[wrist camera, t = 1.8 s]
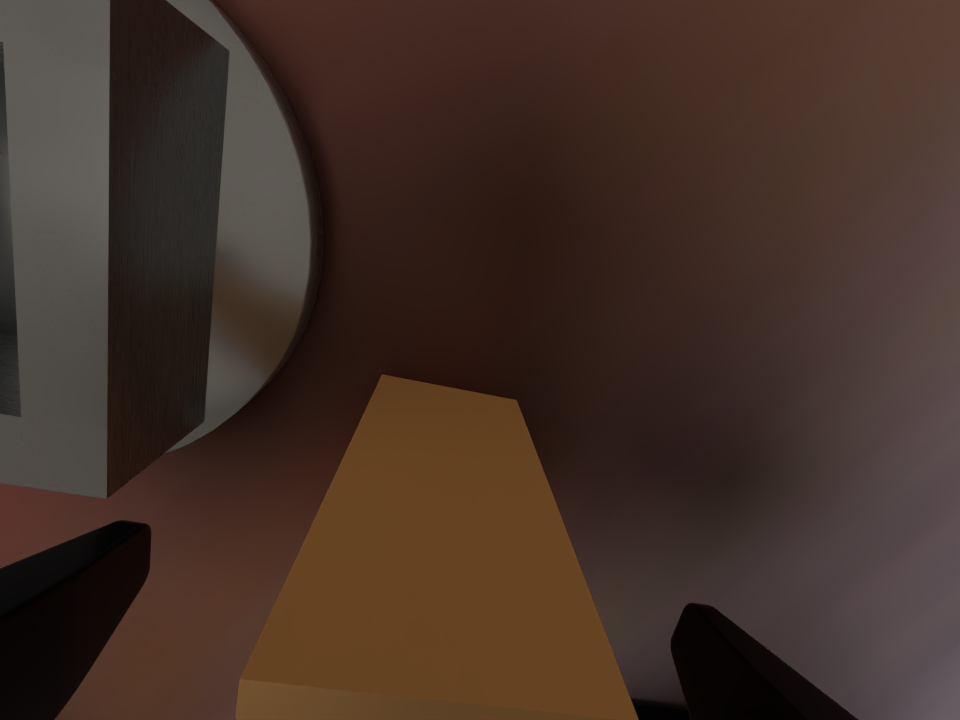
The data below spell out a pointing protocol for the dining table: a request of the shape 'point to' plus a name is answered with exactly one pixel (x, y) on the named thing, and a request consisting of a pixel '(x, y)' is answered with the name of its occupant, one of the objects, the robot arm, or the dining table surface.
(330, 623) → the orange-brown rectangular block
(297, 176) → the silver square frame
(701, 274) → the dining table surface
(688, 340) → the dining table surface
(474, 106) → the dining table surface
